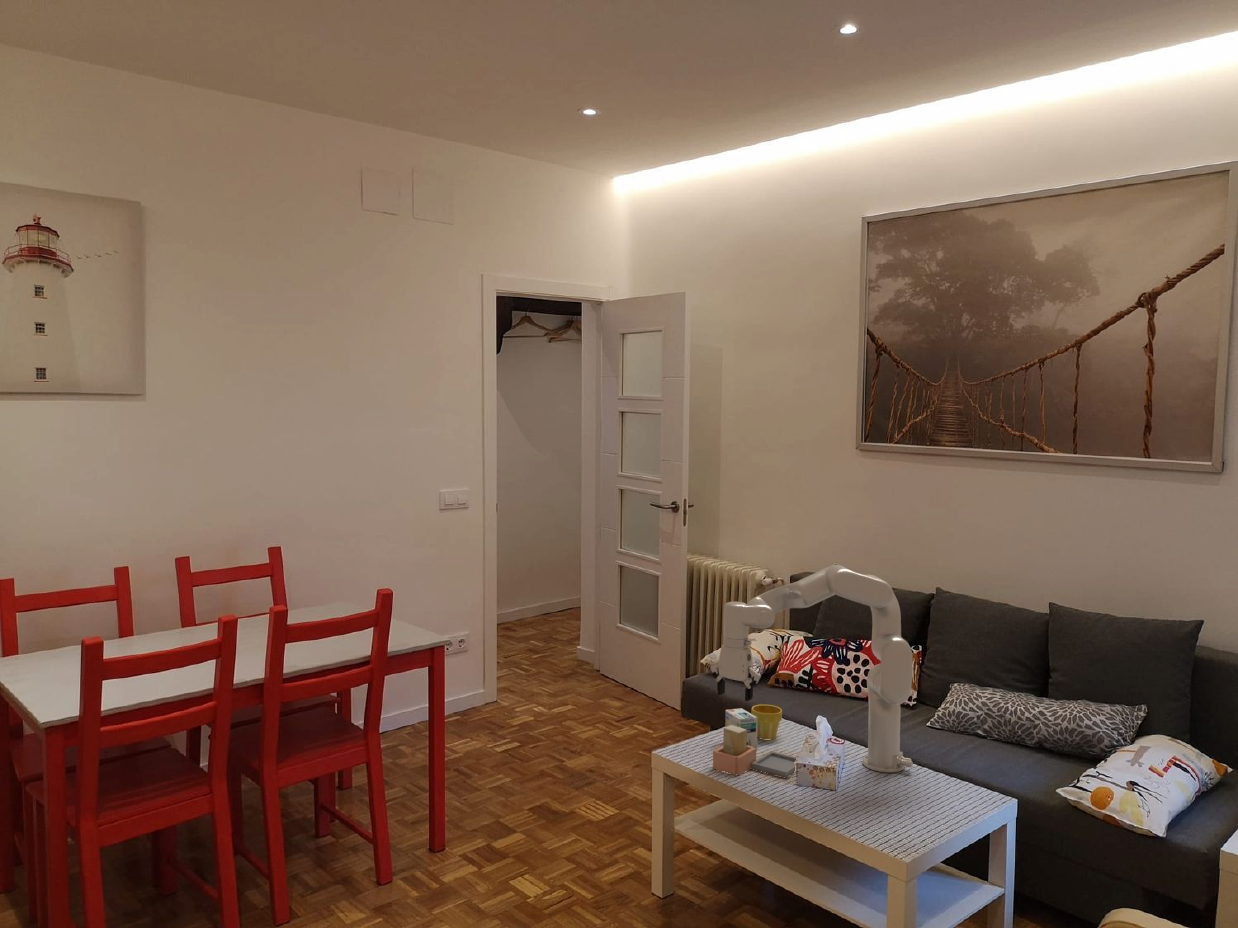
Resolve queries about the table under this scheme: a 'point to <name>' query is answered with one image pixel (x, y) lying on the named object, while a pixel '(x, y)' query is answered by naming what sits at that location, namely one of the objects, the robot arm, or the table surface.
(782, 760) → the grey tray
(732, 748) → the skincare box
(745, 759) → the terracotta square pot
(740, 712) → the light bulb box
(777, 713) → the plant pot
